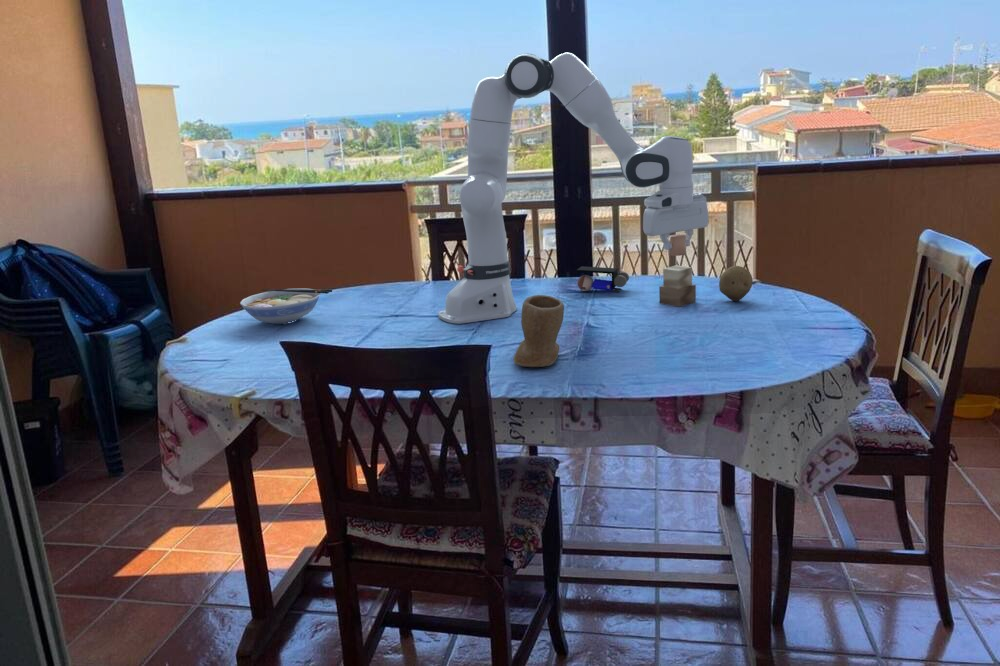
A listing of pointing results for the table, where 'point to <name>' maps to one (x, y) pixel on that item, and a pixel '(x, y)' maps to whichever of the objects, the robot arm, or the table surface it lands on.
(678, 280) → the tower top
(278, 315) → the ramen bowl
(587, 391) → the table surface
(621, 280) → the toy car
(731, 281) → the natural sponge
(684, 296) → the tower base
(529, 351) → the stone cup
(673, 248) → the tan rounded cylinder
